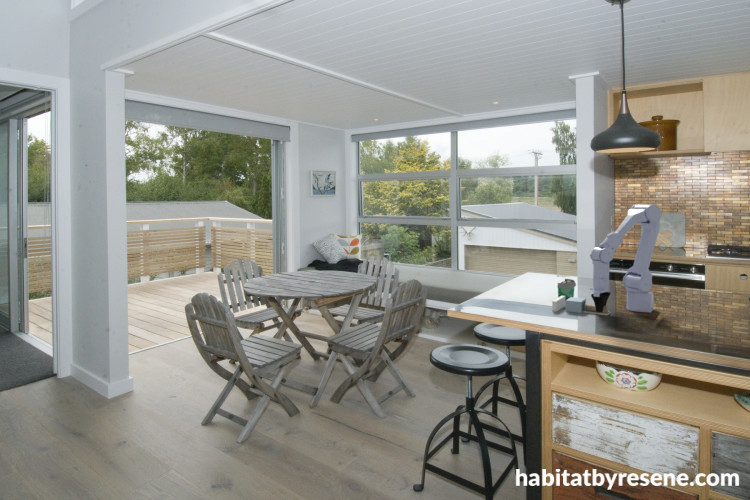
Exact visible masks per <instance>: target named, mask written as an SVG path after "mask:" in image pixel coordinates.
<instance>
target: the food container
mask: <svg viewBox="0 0 750 500" xmlns="http://www.w3.org/2000/svg"><path fill="white" fill-rule="evenodd" d="M575 287H577V283H576V280H575V279H571V278H564V280H563V281H561V282H557V298H558V297H560V296H565V303H566V300H567V299H569V298H570V297H575Z"/></svg>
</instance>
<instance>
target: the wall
mask: <svg viewBox="0 0 750 500" xmlns="http://www.w3.org/2000/svg"><path fill="white" fill-rule="evenodd" d="M551 303H552V304H551V306H552V307H551V310H552V312H555V313H557V312H558V311H559V310H561V309H562V308H564V307H566V302H565V296H560V297H558V296H557V298H555V299H554V300H552V302H551Z"/></svg>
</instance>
